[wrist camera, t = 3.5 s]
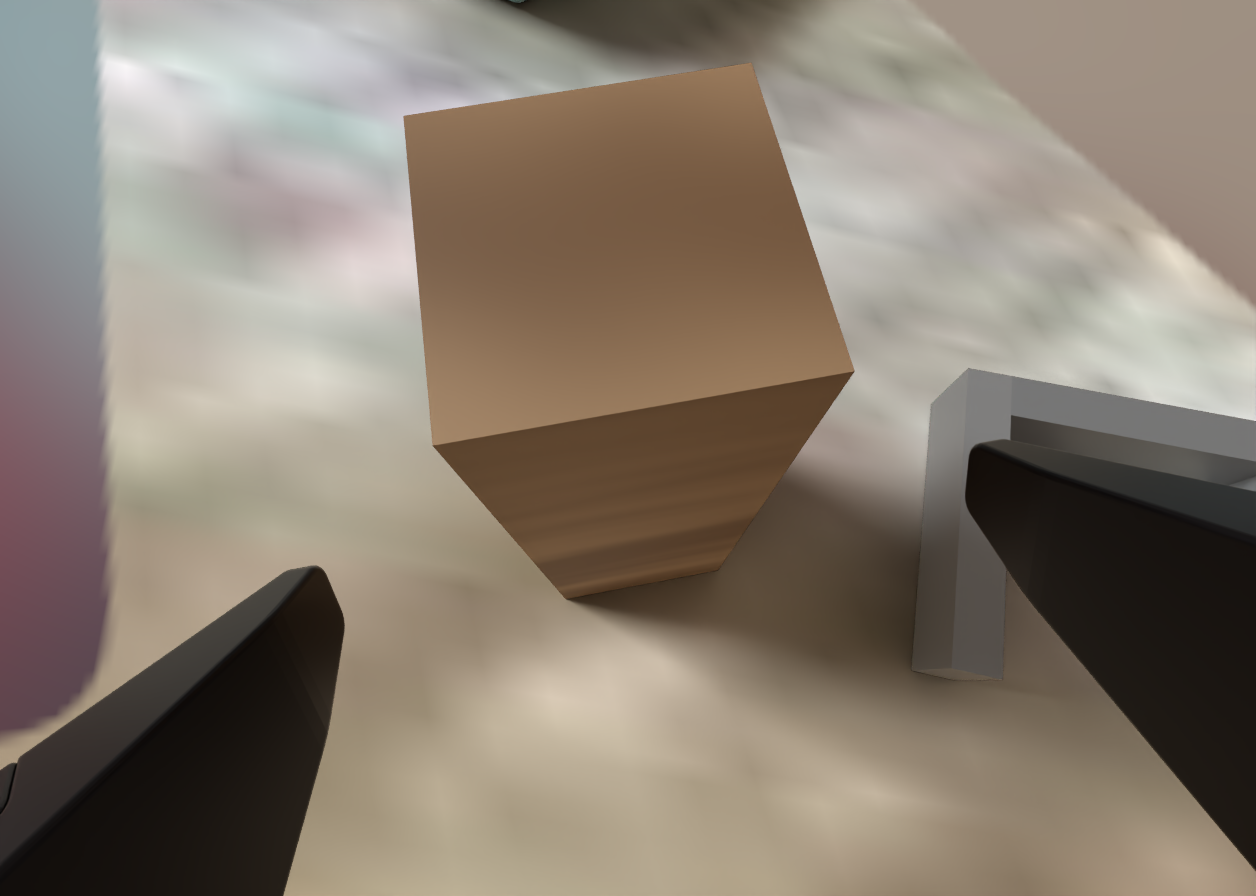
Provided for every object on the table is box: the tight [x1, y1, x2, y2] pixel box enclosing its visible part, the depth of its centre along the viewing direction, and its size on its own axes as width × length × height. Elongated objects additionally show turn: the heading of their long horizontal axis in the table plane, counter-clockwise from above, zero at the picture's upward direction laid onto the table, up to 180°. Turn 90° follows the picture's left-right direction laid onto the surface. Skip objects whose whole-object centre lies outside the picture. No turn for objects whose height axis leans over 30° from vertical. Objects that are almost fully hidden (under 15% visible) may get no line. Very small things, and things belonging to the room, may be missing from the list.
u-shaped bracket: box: [911, 368, 1256, 680], centre depth 18 cm, size 8×9×2 cm
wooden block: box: [404, 63, 854, 599], centre depth 14 cm, size 4×4×13 cm
